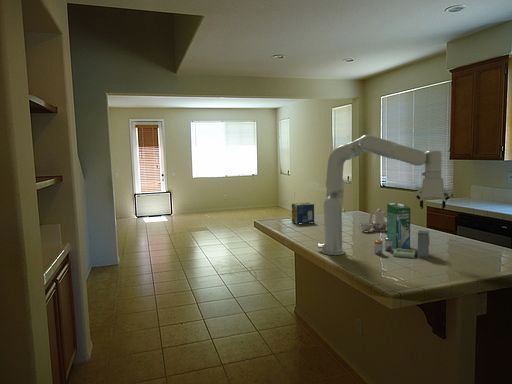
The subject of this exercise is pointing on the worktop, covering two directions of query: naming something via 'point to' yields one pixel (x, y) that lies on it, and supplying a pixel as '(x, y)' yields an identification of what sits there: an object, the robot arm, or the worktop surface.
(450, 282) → the worktop surface
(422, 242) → the block
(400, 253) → the tray
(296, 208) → the protein box
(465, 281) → the worktop surface
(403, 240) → the milk carton
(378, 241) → the copper lidded jar
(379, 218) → the chinaware
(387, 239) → the clear glass jar
